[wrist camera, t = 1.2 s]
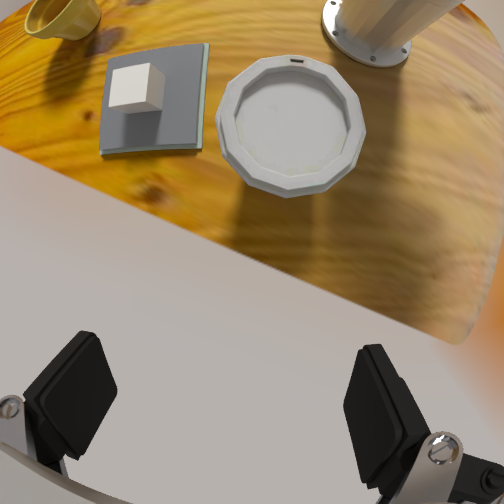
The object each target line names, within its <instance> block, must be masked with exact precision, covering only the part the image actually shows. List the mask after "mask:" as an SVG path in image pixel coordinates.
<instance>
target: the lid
mask: <svg viewBox="0 0 504 504" xmlns="http://www.w3.org/2000/svg"><path fill="white" fill-rule="evenodd" d="M204 49H205V46H204V44H203V43H202V44H190V45H181V46H172V47H165V48H159V49H152V50H147V51H141V52H136V53H132V54H127V55H123V56H118V57H114V58H110V59H109V60H108V66H107V72H106V79H105V86H104V93H103V102H102V112H101V124H100V140H99V150H112V149H121V148H132V147H144V146H160V145H182V144H197V143H198V123H199V107H200V93H201V81H202V69H203V59H204Z"/></svg>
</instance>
